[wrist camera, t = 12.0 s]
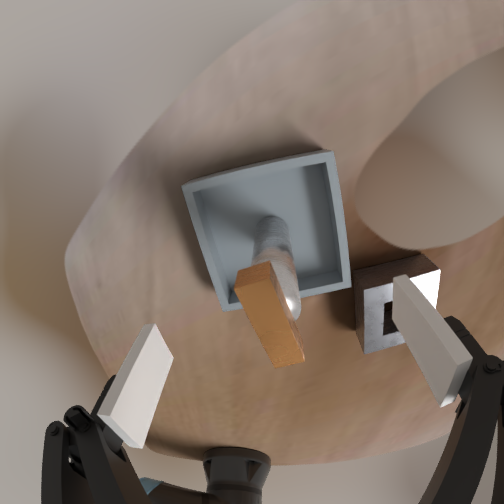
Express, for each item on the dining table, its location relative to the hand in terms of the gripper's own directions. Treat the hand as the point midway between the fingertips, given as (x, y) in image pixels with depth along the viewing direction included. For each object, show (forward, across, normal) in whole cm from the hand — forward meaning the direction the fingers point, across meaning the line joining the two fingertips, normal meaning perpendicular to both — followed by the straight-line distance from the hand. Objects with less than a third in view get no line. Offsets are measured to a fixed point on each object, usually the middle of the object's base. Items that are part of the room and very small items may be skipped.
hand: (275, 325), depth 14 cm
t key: (+14, 0, 0) cm, 14 cm away
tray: (+14, 0, +1) cm, 14 cm away
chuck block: (+14, +12, -10) cm, 22 cm away
